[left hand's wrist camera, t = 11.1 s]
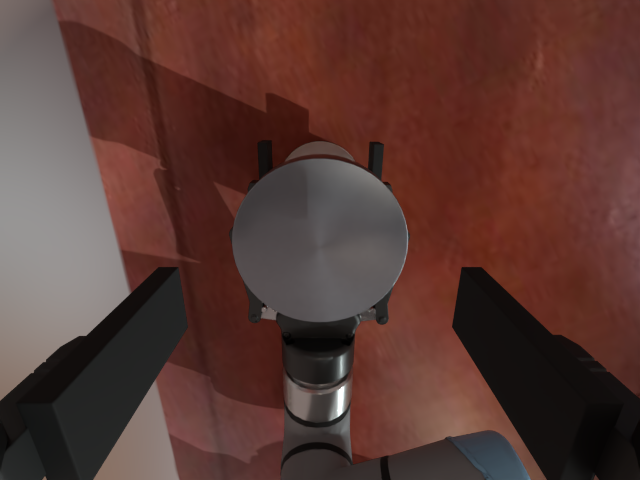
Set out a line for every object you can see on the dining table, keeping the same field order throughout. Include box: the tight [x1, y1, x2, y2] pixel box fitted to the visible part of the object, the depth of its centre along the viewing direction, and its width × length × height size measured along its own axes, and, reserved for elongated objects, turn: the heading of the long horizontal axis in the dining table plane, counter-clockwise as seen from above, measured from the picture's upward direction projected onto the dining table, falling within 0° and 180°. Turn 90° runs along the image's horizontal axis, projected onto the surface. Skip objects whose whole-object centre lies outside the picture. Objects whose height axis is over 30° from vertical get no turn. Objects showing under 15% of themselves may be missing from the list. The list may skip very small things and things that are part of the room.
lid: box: [232, 154, 408, 322], centre depth 19 cm, size 10×10×2 cm
